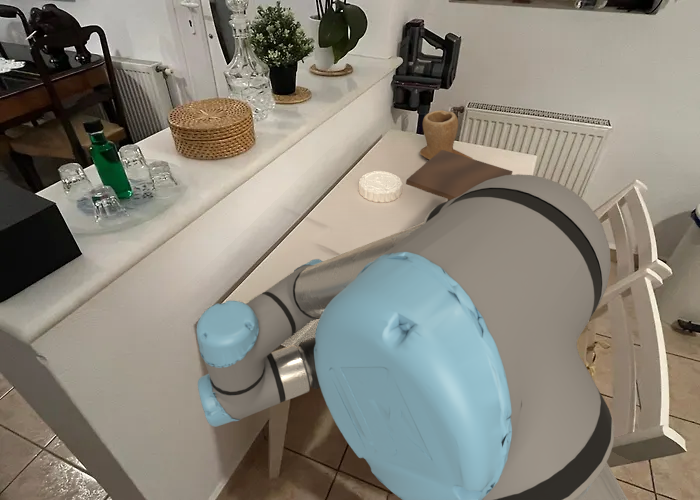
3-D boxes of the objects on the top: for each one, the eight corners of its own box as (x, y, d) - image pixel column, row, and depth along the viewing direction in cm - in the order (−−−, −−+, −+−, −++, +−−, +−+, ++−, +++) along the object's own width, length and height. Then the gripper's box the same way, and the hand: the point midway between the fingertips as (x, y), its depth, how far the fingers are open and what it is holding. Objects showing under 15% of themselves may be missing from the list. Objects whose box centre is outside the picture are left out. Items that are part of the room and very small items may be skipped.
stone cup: (410, 157, 135) (415, 110, 125) (436, 146, 141) (443, 101, 131) (446, 177, 126) (454, 128, 116) (472, 165, 131) (483, 118, 122)
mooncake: (409, 188, 121) (410, 177, 118) (388, 208, 113) (389, 196, 111) (372, 175, 126) (373, 164, 123) (350, 194, 118) (350, 182, 116)
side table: (497, 223, 109) (512, 171, 99) (468, 261, 97) (483, 206, 88) (433, 199, 117) (441, 149, 107) (400, 232, 105) (406, 179, 95)
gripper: (282, 325, 77) (386, 291, 84) (336, 451, 60) (461, 396, 67) (278, 296, 73) (388, 262, 79) (336, 425, 55) (470, 368, 62)
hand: (422, 323), depth 73 cm, fingers open, 13 cm apart
